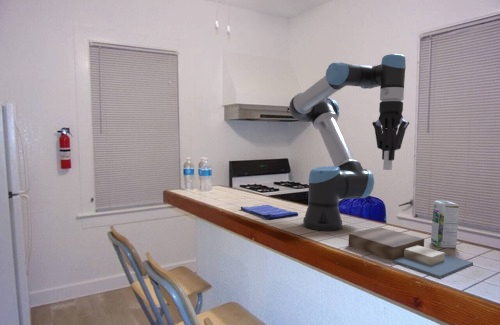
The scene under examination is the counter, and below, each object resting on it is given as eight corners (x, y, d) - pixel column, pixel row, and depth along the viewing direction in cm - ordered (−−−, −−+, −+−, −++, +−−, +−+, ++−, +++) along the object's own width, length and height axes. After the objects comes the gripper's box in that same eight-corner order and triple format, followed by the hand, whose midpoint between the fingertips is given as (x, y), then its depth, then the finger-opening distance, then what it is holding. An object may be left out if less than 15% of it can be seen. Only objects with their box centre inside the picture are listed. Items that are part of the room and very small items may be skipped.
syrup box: (429, 242, 115) (432, 200, 114) (447, 242, 115) (450, 200, 114) (438, 247, 110) (441, 203, 109) (457, 248, 110) (460, 203, 109)
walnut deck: (348, 245, 110) (348, 233, 110) (378, 238, 119) (379, 227, 119) (393, 260, 97) (394, 247, 97) (423, 251, 106) (424, 238, 105)
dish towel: (268, 221, 142) (268, 214, 142) (239, 210, 162) (239, 205, 162) (299, 217, 152) (299, 210, 151) (268, 207, 171) (268, 201, 171)
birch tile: (403, 256, 99) (404, 248, 99) (417, 252, 103) (417, 245, 103) (431, 265, 92) (431, 257, 92) (444, 260, 96) (444, 252, 96)
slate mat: (392, 262, 96) (392, 260, 96) (426, 251, 106) (427, 249, 106) (439, 278, 85) (440, 275, 85) (472, 264, 95) (473, 262, 95)
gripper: (368, 101, 120) (364, 168, 122) (402, 99, 109) (398, 172, 111) (381, 103, 124) (378, 167, 126) (415, 100, 113) (411, 171, 115)
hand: (387, 169), depth 119 cm, fingers closed
